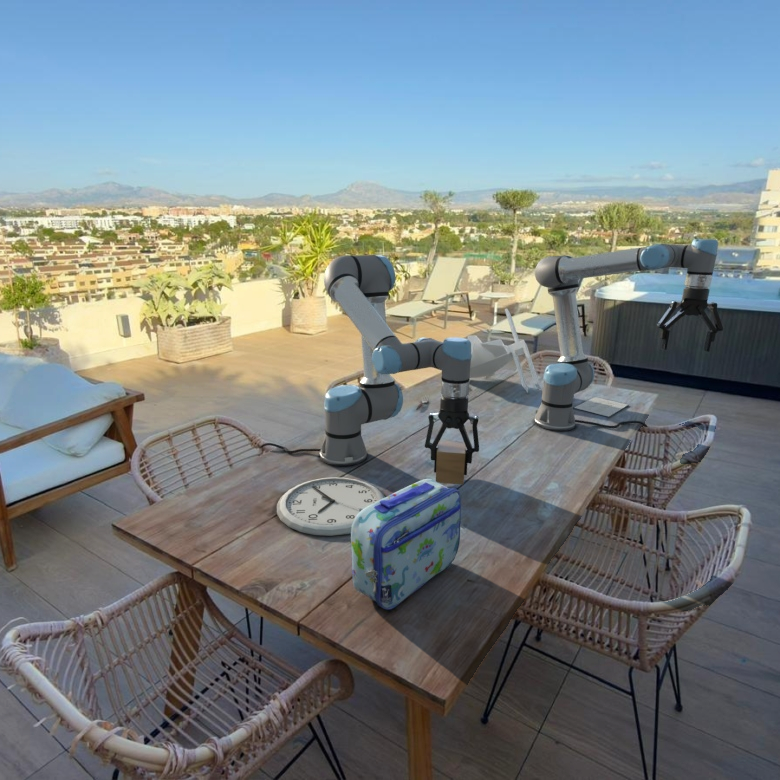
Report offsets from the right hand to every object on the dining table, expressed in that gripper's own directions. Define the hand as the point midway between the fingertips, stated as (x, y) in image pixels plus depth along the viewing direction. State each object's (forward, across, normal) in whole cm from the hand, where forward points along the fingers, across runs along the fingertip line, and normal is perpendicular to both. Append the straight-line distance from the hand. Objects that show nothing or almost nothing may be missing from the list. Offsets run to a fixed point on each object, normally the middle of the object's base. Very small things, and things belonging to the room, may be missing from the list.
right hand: (685, 349), depth 180 cm
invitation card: (+34, -16, +36) cm, 52 cm away
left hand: (+27, -76, -55) cm, 98 cm away
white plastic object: (+34, -62, +56) cm, 91 cm away
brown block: (+29, -76, -55) cm, 98 cm away
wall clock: (+34, -107, -68) cm, 131 cm away
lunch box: (+34, -83, -96) cm, 131 cm away
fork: (+34, -92, +21) cm, 101 cm away
